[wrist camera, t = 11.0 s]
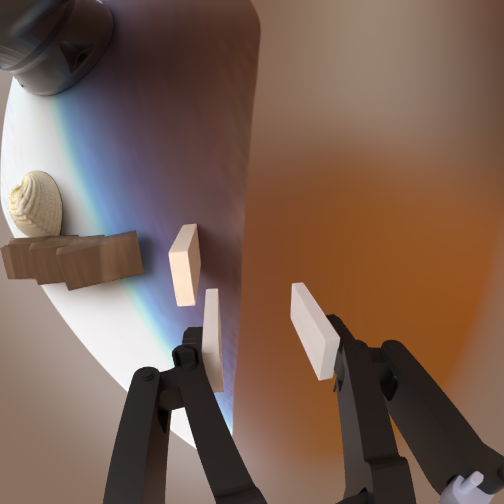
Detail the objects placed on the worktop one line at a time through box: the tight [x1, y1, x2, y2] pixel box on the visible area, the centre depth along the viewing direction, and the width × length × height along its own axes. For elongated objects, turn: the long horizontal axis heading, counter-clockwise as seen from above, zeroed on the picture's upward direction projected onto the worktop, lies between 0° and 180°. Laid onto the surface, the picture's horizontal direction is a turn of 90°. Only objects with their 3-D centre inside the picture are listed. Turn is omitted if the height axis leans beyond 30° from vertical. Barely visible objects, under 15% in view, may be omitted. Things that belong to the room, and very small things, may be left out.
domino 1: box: [1, 245, 36, 279], centre depth 29 cm, size 2×5×10 cm
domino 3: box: [29, 235, 104, 285], centre depth 27 cm, size 2×5×10 cm
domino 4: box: [56, 230, 144, 291], centre depth 28 cm, size 2×5×10 cm
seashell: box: [8, 171, 62, 237], centre depth 25 cm, size 8×8×8 cm
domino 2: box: [8, 235, 78, 279], centre depth 27 cm, size 2×5×10 cm
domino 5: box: [169, 224, 201, 306], centre depth 27 cm, size 2×5×10 cm, turn 3°
